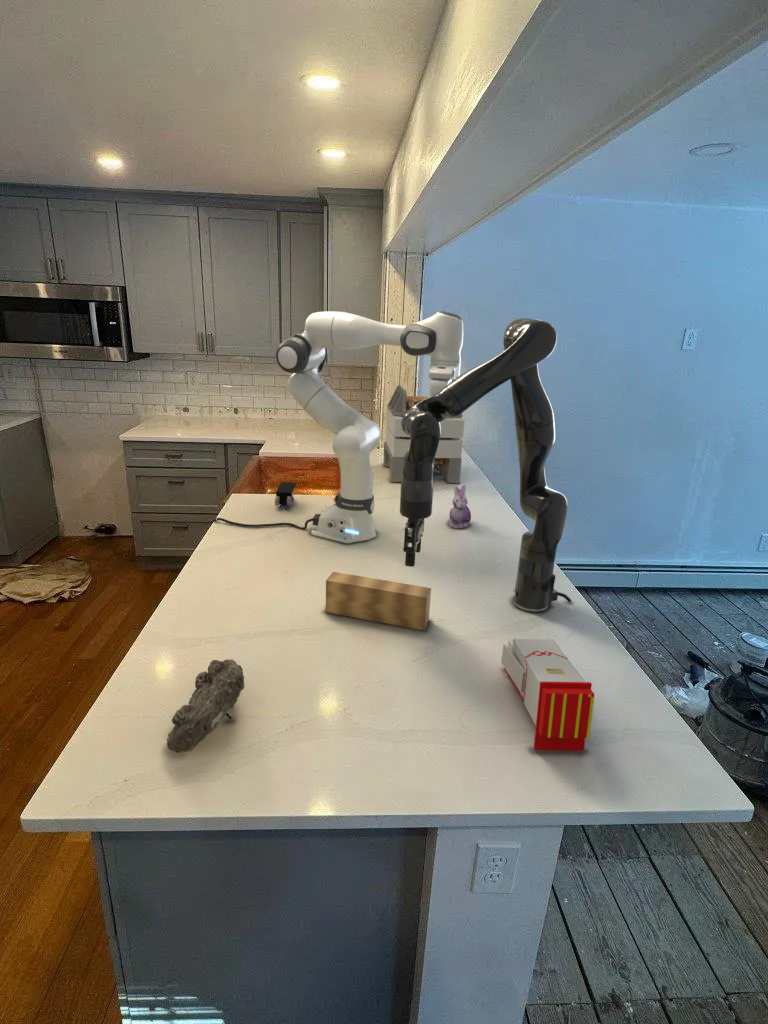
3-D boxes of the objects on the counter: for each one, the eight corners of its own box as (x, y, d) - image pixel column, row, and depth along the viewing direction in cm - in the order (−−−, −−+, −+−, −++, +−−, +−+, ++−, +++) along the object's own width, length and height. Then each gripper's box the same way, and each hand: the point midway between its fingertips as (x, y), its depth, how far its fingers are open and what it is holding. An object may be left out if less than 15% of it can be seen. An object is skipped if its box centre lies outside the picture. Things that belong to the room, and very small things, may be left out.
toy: (549, 621, 128) (604, 690, 99) (544, 676, 131) (595, 758, 101) (496, 620, 128) (535, 688, 98) (492, 675, 130) (528, 757, 101)
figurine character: (292, 514, 217) (296, 498, 230) (291, 496, 214) (296, 480, 227) (274, 514, 217) (280, 497, 230) (273, 496, 213) (279, 480, 227)
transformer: (382, 463, 289) (386, 382, 275) (445, 464, 293) (451, 384, 279) (390, 482, 257) (394, 392, 243) (460, 483, 261) (468, 394, 247)
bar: (325, 612, 147) (325, 580, 144) (332, 602, 152) (333, 571, 149) (424, 630, 140) (427, 597, 137) (428, 620, 145) (431, 588, 142)
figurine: (456, 530, 205) (460, 491, 199) (441, 521, 213) (444, 483, 208) (477, 527, 209) (481, 488, 204) (461, 518, 217) (465, 480, 212)
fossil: (192, 660, 117) (244, 628, 112) (224, 691, 120) (276, 661, 115) (142, 746, 98) (202, 712, 93) (182, 779, 101) (242, 748, 96)
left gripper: (440, 366, 177) (436, 410, 182) (427, 372, 159) (423, 421, 163) (460, 368, 176) (456, 412, 181) (450, 374, 157) (445, 423, 162)
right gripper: (428, 506, 125) (423, 573, 130) (436, 488, 138) (432, 549, 143) (394, 503, 126) (391, 569, 132) (406, 485, 139) (403, 545, 145)
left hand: (440, 416), depth 172 cm, fingers open, 8 cm apart
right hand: (412, 558), depth 138 cm, fingers open, 8 cm apart
